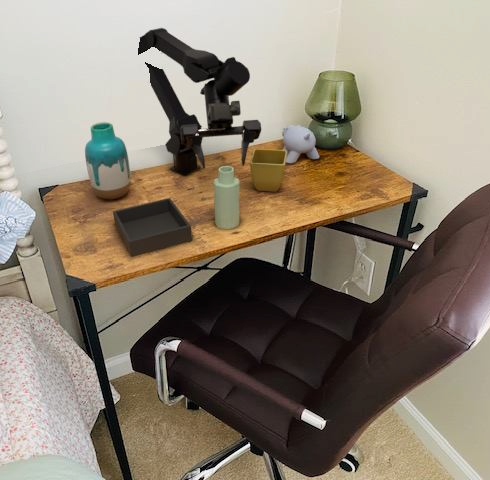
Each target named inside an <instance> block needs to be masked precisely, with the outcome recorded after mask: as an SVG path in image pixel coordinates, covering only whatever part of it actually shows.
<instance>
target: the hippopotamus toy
mask: <svg viewBox="0 0 490 480" xmlns="http://www.w3.org/2000/svg"><path fill="white" fill-rule="evenodd" d="M281 135H282V137H283V138H282V142H283V145H284V146H283V147H282V149H281V150H287V156H286V163H285V164H295V163H296V162H297V161H298V159H299V157H300V156H301V154H305V155H306V157H308V159H309V160H318V159H320V154H319V152H318V150H317V148H316V147H315V146H316V142H317V140H316V136H315V134H314V132H312V131H311V130H310V129H308V128H307V127H304V126H302V125H301V124H298V125H294V124H289V125H287V126H284V127H282V132H281Z"/></svg>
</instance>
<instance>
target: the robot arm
mask: <svg viewBox="0 0 490 480" xmlns="http://www.w3.org/2000/svg"><path fill="white" fill-rule="evenodd" d="M139 38H140V42H139V48H138V55H139V54H141V53H143V52H145V51H147V50H148V49H150V48H151V47H155V48H157V49H158V50H159V51H161V54H164V55H165V56H166V57H168V58H170V59H171V60H173V61H174V62H175V63H176V64H179V66H181V67H182V69H183V73H184V74H185V76H187V77H188V79H190V81H192V83H195V84H198V83H203V82H205V81H207V82H206V83H204V85H203V87H202V88H200V91H199V93H200V95H203V96H204V102H205V111H206V122H207V124H206V125H207V128H203V125H201V123H200V122H199V120H198V117H197V116H196V114H194V113H193V114H188V112H186V110H185V109H184V107H183V105H182V102H181V101H180V99H179V97H178V95H177V94H176V92H175V90H174V87H173V86H172V84H171V82H170V80H169V78H168V75H167V74H166V72H165V70H164V69H159V68H157V67H154V66H152V65H151V64H148V63H146V62H145V64H146V65H147V67H148V68H149V73H150V83H151V85H150V86H151V88H152V90H153V92H154V94H155V96H156V98H157V100H158V102H159V104H160V105H161V107H162V110H163V112H164V113H165V116H166V117H167V119H168V122H169V126H168V133H169V137H170V138H169V139H168V140H167V141H166V142H165V148H166V151H167V152H168V153H170V154H172V159H173V166H171V167H170V168H169V170H170V171H172V172H174V173H177V174H179V175H182V176H188V175H190V174H192V173H195V172H196V171H199V170H200V169H201V168H202V169H204V170H205V169H206V161H205V156H204V155H205V154H204V151H203V147H202V142H203V138H212V137H213V138H214V137H227V136H240V135H241V143H240V144H241V150H240V151H241V165H242V166H245V163H246V160H247V159H246V158H247V154H248V149H249V146H250V144H252V143H254V142H255V140H258V139H259V138H260V136H261V132H262V123H261V121H259V120H258V119H248V120H247V119H246V120H243V121H242V125H239V126H233V124H234V117H238V116H240V115H241V113H242V112H241V102H240V100H231V101H230V97H231V96H234V95H235V94H236V93H237V92H238V91H240V90H241V89H242V88H243V87H244V86H245V85H247V84H248V83H249V81H250V80H251V74H250V70H249V68H248V67H246V65H244V64H243V63H242V62H241V61H239V60H237V59H236V57H235V56H231V57H227V58H226V60H225V61H222V60H221V59H219V57H218V56H217V55H216V54H215V53H213V52H209V51H207V50H202V49H197V48H196V49H195V48H193V47H191V46H190V45H189V44H187V43H185V42H183V41H182V40H181V39H179V38H177V37H176V36H174V35H173V34H171V33H170V32H168V30H167V29H166V28H164V27H158V28H154V29H149V30H148V31H147V32H145V33H144V34H143V35H141V36H140V37H139ZM150 83H149V84H150ZM198 161H199V162H200V165H198ZM201 166H202V167H201Z"/></svg>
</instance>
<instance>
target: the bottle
mask: <svg viewBox="0 0 490 480" xmlns="http://www.w3.org/2000/svg"><path fill="white" fill-rule="evenodd" d="M213 198H214V199H213V200H214V201H213V202H214V223H215V225H216V227H218V228H219V229H222V230H231V229H232V230H233V229H235V228H237V227H239V225H240V179H239V178H238V177H236V176H235V168H234V167H233V166H230V165H223V166H220V167H219V168H218V177H216V178H215V179H214V180H213Z"/></svg>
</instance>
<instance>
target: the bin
mask: <svg viewBox="0 0 490 480" xmlns="http://www.w3.org/2000/svg"><path fill="white" fill-rule="evenodd" d="M112 215H113V220H114V226H115V228H116V230H117V232H118V234H119V236H120V238H121V240H122V242H123V244H124V246H125V247H126V249H127V252H128V253H129V255H130V258H132V257H137V256H141V255H144V254H148V253H151V252H155V251H159V250H162V249H167V248H171V247H174V246H178V245H183V244H185V243H189V242H192V241H193V234H192V225H191V224H190V223H189V222H188V220H187V218H186V217H185V216H184V215H183V213H182V212H181V210H180V209H179V208H178V206H177V205H176V204H175V202H173V200H172V199H171V197H167V198H164V199H159V200H154V201H149V202H147V203H146V202H145V203H142V204H138V205H133V206H129V207H125V208H120V209H115V210H112Z"/></svg>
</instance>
